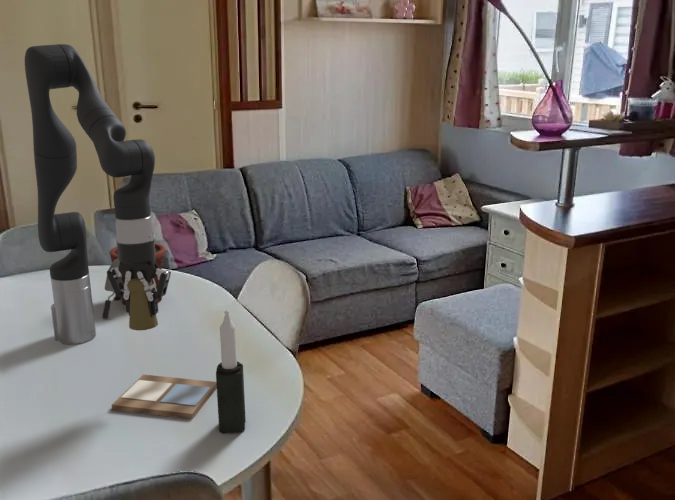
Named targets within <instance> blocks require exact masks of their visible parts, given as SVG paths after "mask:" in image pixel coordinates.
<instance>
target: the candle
mask: <svg viewBox="0 0 675 500" xmlns="http://www.w3.org/2000/svg"><path fill="white" fill-rule="evenodd" d="M236 335H237V334H236V325H235V324H234V322H233V321H232V319H231V316H230V312H229V310H228V309H226V310H225V311H224V317H223V320H222V323H221V325H220V327H219V337H220V338H219V339H220V354H221V355H220V356H221V362H220V363H219V364H217V366H216V372H215V380H216V381H215V382H216V384H217V389H216V398H217V399H216V400H217V415H218V419H217V420H218V431H219V433H221V434H241V433H243V432H244V431H245V430H246V424H245V423H246V422H247V421H246V403H245V402H246V401H245V397H246V396H245V381H244V380H245V379H244V378H245V377H244V375H245V374H244V365H243V363H241V362H239V361H237V342H236V340H237V339H236Z"/></svg>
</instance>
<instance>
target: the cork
mask: <svg viewBox="0 0 675 500" xmlns="http://www.w3.org/2000/svg"><path fill="white" fill-rule="evenodd" d="M148 285H149V286H151V285H152V281H151V282H150V283H148ZM127 288H128V290H129V291H130V316H129V320H128V328H129V329H130V330H132V331H147V330H151V329H154V328H156V327H157V326H158V325H159V322H158V318H157V314H156V315H154V317H151V316H150V311H149V307H148V302H147V301H149V300H148V297H147V295H146V292H145V291H144V284H143V283H142V282H141V281H140V280H139V278H132V279H131V280H129V282H128V284H127Z"/></svg>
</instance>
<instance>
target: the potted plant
mask: <svg viewBox="0 0 675 500" xmlns="http://www.w3.org/2000/svg"><path fill="white" fill-rule="evenodd" d="M155 253H156V264H157V266H158V268H159V269H162V268H163V267H162V266H163V264H162V263H163V260H164V259H165V257H166V247H165V245H164V244H161V243H158V242H155ZM109 256H110V260H111V264H110V266H109V267H108V269H107V271H108V270H110V269H112V268H113V267H116V268H117V267H118V266H119V263H120V261H119V259H118V250H117V246H115V247H113V248H111V249H110V250H109ZM162 270H163V269H162ZM121 279H122V281H123V284H125V278H124V277H123V276H122V274H121ZM154 280H155V283H156V289H157V288H158V283H159V280H158V276H157V274H156V275H155V276H154ZM104 283H105V284H104V290H105V292H111V294H110V295H108V297H107V299H106V300H105V301H104V305H103V312H102V316H101V318H102V319H107V320H108V318H109V313H110V309H111V303H112V301H111V300H110V299H111V298H112V297H114V298H113V299H112V300H113V301H120V300H121V303H122V306H125V307H126V305H125V299H124V298H123V297H121V296H119V297H118V296H116V294H115V292H114V290H113V287H112V285H111V282H110V280H109V278H108V275H107V274H106V278H105V282H104ZM162 299H163V296H162V297H161V298H160V299H157V300H158V304H159V303H160V302H161V301H162Z"/></svg>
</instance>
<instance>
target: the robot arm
mask: <svg viewBox="0 0 675 500" xmlns="http://www.w3.org/2000/svg"><path fill="white" fill-rule="evenodd" d="M24 71H25V78H26V85H27V91H28V97H29V104H30V105H29V106H30V113H31V120H32V138H33V139H32V141H33V142H32V143H33V157H34V158H33V159H34V169H35V178H36V190H37V236H38V242H39V244H40V247H41V249H42V250H43V251H44V252H46V253H56V252H63V251H69V252H68V254H66V256H64V257H63V258H61V259H59V260H57V261H55V262H54V263H52V264H51V265H50V267H49V276H50V281H51V282H50V283H51V290H52V297H53V298H52V299H53V304H51V305H50V311H51V318H52V326H53V334H54V341H59V343H61V344H67V345H77V344H82V343H86V342H88V341H91V340H93V339H94V338H95V337H96V336H97V333H96V324H95V323H96V322H95V313H94V305H93V296H92V295H93V294H92V289H91V288H92V287H91V286H92V285H91V277H90V270H89V269H90V268H89V258H88V257H89V256H88V246H87V245H88V243H87V227H86V222H85V219H84V217H83V215H82V214H81V213H80V212H77V211H71V212H63V213H55V212H56V208H57V204H58V202H59V200H60V198H61V196H62V195H63V193H64V192H65V191H66V189H67V188H68V186H69V184H70V183H71V182H72V180H73V178H74V176H75V174H76V173H77V170H78V169H77V168H78V153H77V142H76V140H75V137H74V135H73V134H72V132H70V130H69V129H68V128H67V126H66V125H65V124H64V122H63V121H62V120H61V119H60V118H59V116H58V115H57V114H56V112H55V110H54V109H53V106H52V103H51V98H50V91H51V90H54V89H66V88H71V87H73V88H74V89H75V90H76V91H77V92H78V97H77V99H78V100H77V103H76V117H77V121H78V123H79V124H80V127H81V128H82V130H83V131H84V133H85V134H86V136H88V138H89V139H90V141H91V142H92V143H93V146H94V148H95V152H96V154H97V157H98V160H99V164H100V167H101V169H102V171H103V172H104V173H105V174H106V175H107V176H110V177H112V178H117V179H118V178H124V177H130V179H129V182H128V183H127V184H126V185H124V186H122V187H120V188H118V189H116V190H115V191H114V192H113V208H114V217H115V225H114V226H115V227H114V228H115V239H116V247H117V250H118V259H119V261H120V263H119V266H118V267H117V268H116V267H113V268H112V269H110V270H108V269H107V271H106V276H107V275H108V278H109V280H110V282H111V285H112V287H113V290H114V292H115V294H116V296H118V297H119V296H121V297H123V298H124V299H125V305H126V306H125V305H124V306H125V312H126V313H127V314H128V316H129V317H130V291H129V290H128V288H127V284H128V282H129V280H131V279H132V278H139V280H140V281H141V282H142V283H143V284H144V291H145V292H146V295H147V297H148V300H149V301H147V302H148V307H149V311H150V316H151V317H154V315H156V316H157V314H158V313H159V303H158V300H157V299H160V298H161V297H162V298H163V296H166V295H167V290H168V286H169V282H170V279H171V274H172V272H171V270H170V269H166V270H164V269H159V268H158V266H157V264H156V253H155V243H156V242H155V230H154V224H153V219H152V213H151V204H150V203H151V202H150V192H151V188H152V182H153V176H154V170H155V165H156V155H155V152H154V149H153V148H152V146H151V144H150V143H149V142H148V141H146V140H144V139H129V140H125V139H126V137H127V136H126V135H127V132H126V127H125V125H124V124H123V123H122V121H121V120H120V118H118V116H117V115H116V114H115V112H114V111H113V110H112V108H111V107H110V106H109V105H108V103H107V102H106V100H105V99H104V98H103V96H102V94H101V92H100V91H99V88H98V86H97V84H96V82H95V80H94V77H93V76H92V75H91V74H92V73H90V71H89V69H88V67H87V65H86V63H85V61H84V60H83V58H82V56H81V54H80V53H79V52H78V50H77V49H76V48H75V47H74V46H72V45H70V44H65V43H64V44H63V43H57V44H46V45H45V44H43V45H42V44H41V45H34V46H29V47H28V48H27V49H26V50H25V54H24ZM121 274H122V276H123V277H124V278H125V284H123V281H122V279H121ZM156 274H157V276H158V280H159V283H158V288H157V289H156V283H155V280H154V276H155V275H156ZM151 281H152V285H151V286H149V285H148V283H150V282H151ZM115 294H114V295H115Z"/></svg>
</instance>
